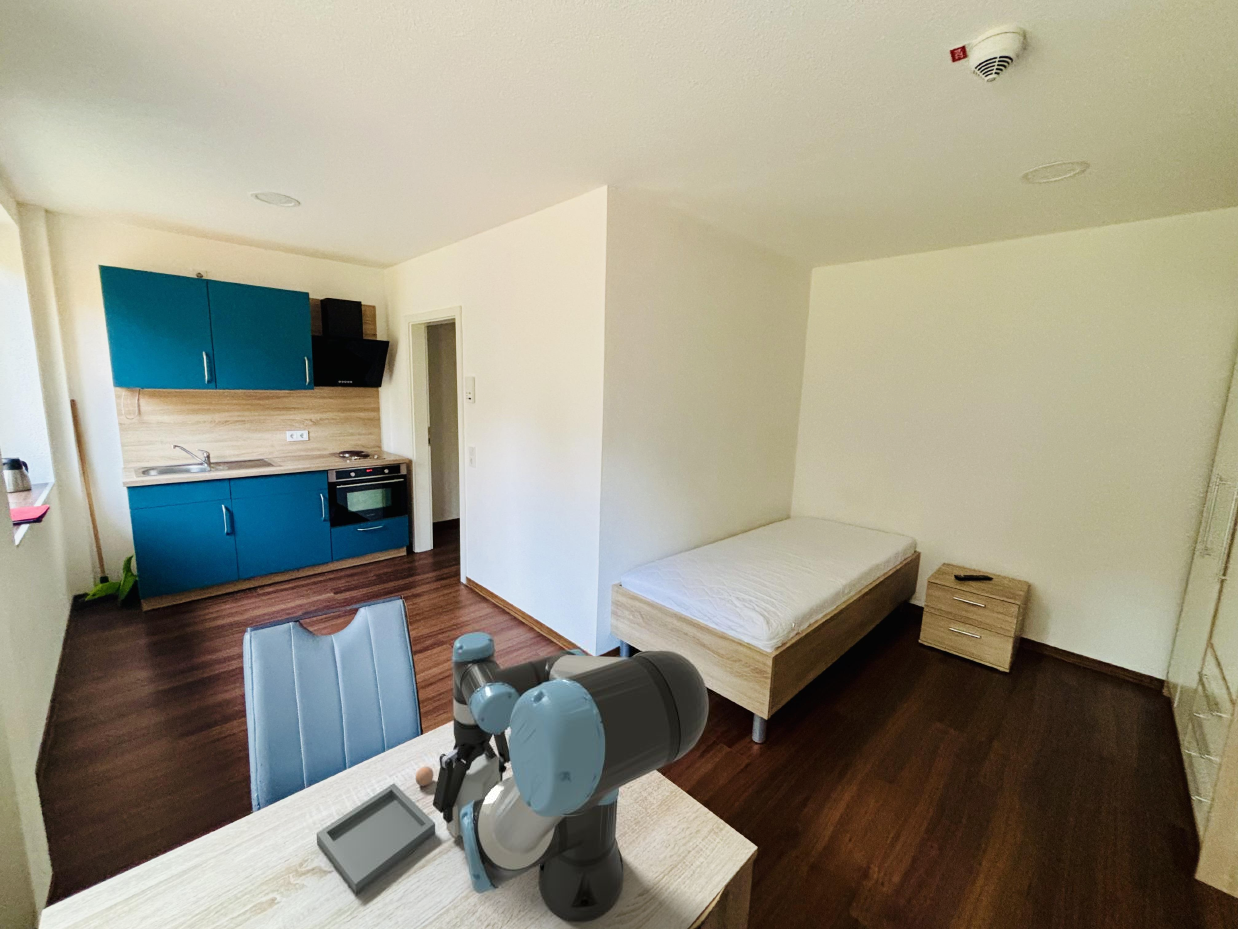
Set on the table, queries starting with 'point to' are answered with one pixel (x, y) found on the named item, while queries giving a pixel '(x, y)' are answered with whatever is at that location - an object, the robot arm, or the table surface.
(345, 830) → the tray
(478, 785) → the supplement box
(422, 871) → the table surface
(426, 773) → the mixing ball
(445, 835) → the table surface
